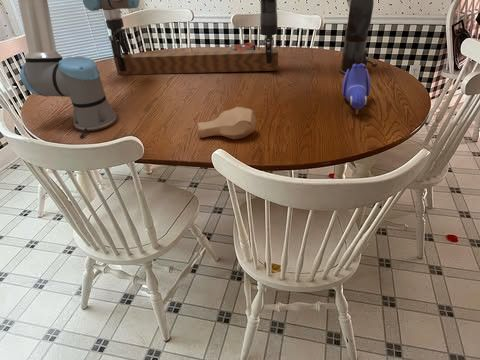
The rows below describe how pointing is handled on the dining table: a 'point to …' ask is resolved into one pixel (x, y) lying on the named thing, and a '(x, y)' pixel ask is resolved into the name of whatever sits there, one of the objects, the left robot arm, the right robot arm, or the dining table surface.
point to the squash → (230, 124)
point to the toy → (356, 86)
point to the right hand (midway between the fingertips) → (269, 61)
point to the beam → (198, 62)
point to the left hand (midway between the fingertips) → (125, 68)
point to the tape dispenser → (239, 47)
